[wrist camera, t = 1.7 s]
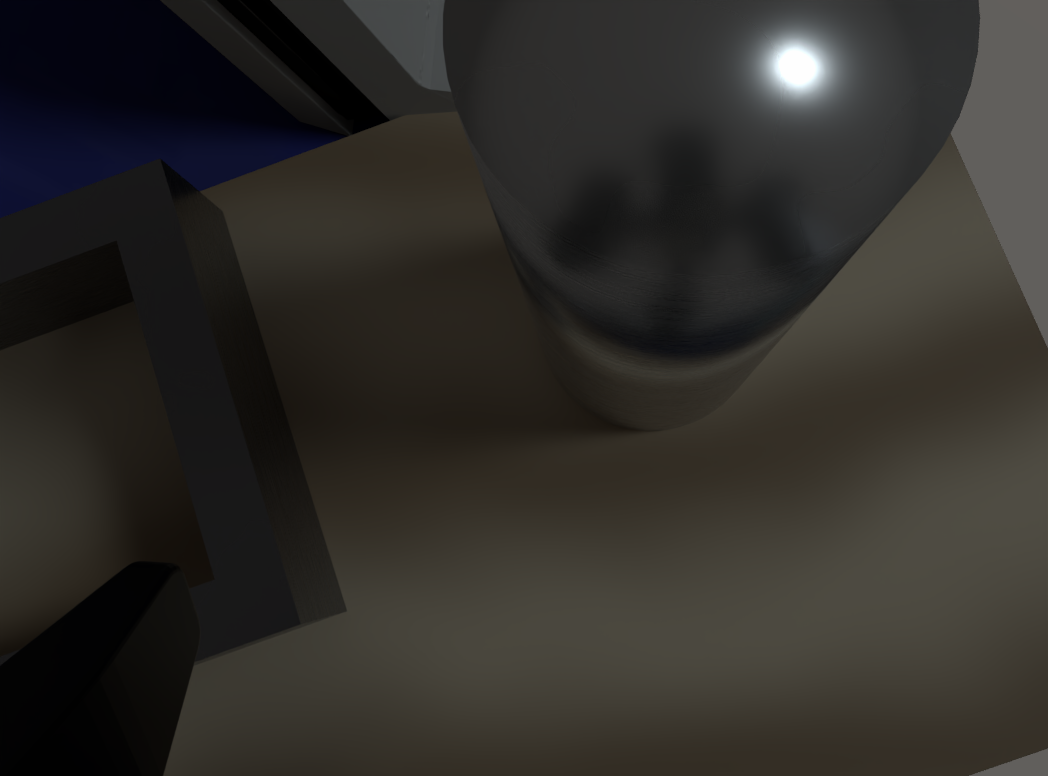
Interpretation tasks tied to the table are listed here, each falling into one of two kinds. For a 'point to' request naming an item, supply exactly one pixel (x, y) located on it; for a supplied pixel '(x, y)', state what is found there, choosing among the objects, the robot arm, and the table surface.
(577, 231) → the pin
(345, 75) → the grey arched block
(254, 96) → the table surface
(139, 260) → the knuckle socket
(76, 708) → the robot arm
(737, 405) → the board
